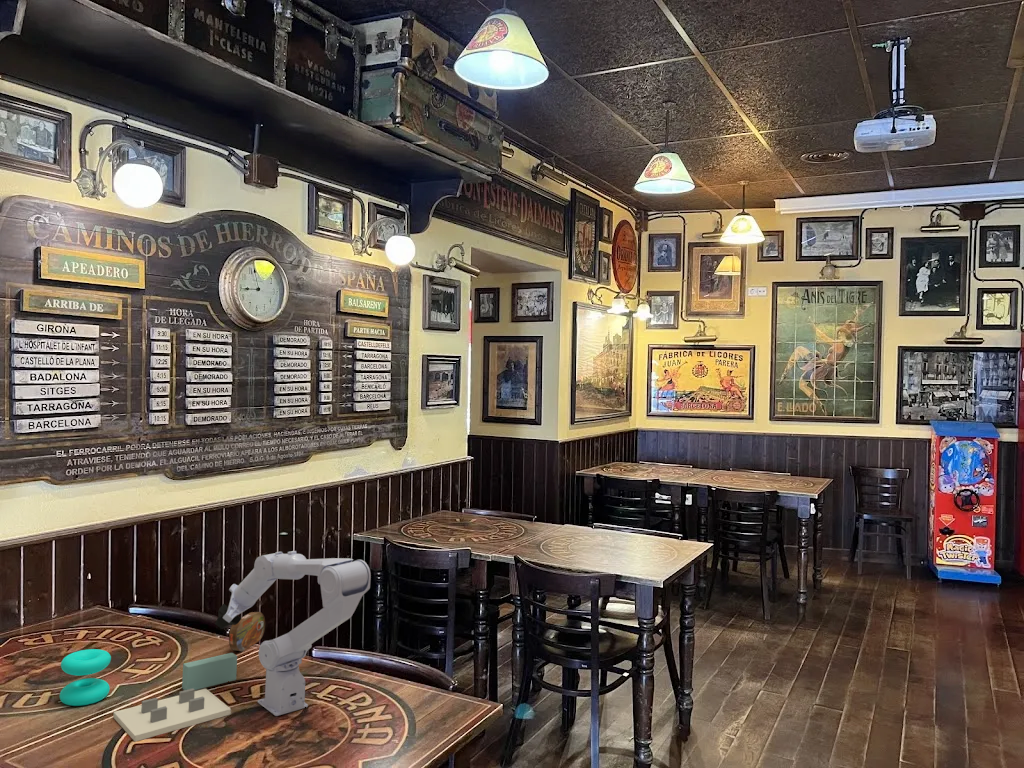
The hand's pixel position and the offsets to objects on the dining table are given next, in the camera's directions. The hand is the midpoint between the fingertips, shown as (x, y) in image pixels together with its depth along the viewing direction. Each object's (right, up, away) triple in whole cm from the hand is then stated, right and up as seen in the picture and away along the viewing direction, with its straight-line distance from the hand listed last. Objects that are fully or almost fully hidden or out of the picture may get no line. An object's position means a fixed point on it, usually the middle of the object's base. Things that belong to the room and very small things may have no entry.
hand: (227, 614), depth 185 cm
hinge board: (-4, -16, -21) cm, 27 cm away
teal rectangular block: (-3, -16, -3) cm, 17 cm away
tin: (-3, -16, +23) cm, 28 cm away
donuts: (-27, -15, -14) cm, 34 cm away
